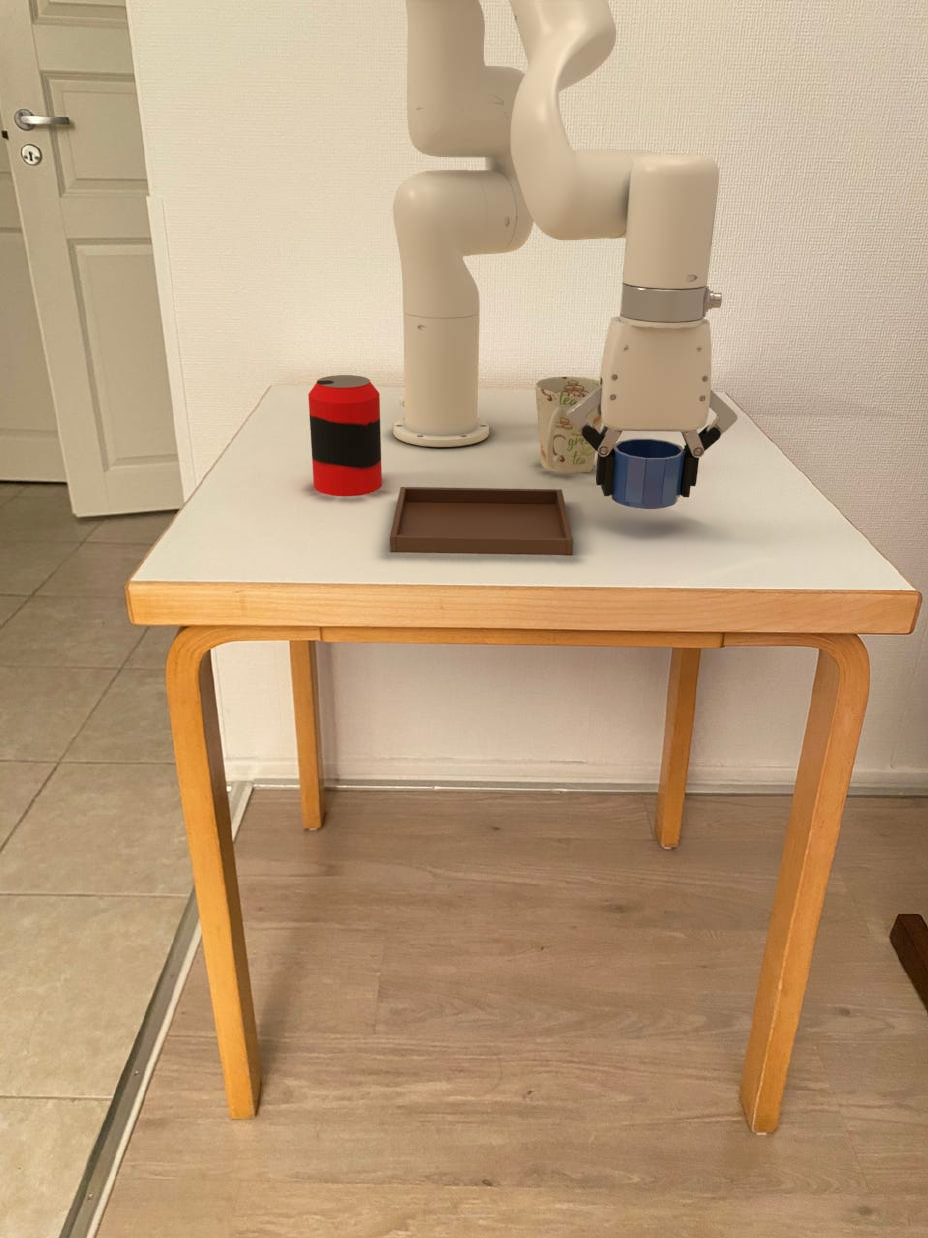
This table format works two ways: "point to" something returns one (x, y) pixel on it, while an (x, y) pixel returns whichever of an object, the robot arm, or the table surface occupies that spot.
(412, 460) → the table surface
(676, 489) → the bowl
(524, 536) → the tray
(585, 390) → the mug
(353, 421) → the soda can
